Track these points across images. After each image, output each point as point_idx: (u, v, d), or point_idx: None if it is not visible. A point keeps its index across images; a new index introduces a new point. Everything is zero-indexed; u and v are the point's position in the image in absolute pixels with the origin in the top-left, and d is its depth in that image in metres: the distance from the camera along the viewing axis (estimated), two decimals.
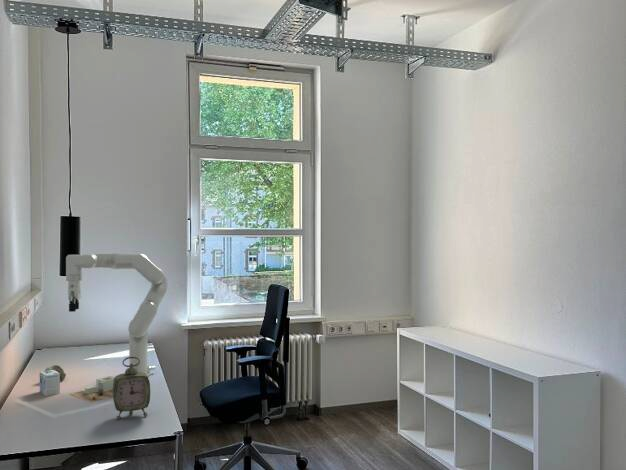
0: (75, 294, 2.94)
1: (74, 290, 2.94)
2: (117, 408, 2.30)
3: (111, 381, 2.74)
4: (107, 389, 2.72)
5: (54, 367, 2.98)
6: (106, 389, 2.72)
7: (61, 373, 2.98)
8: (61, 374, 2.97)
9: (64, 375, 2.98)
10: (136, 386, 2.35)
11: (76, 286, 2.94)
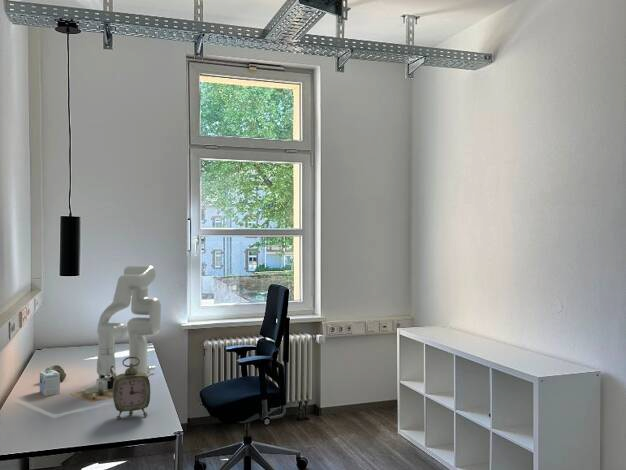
0: None
1: None
2: (117, 408, 2.30)
3: None
4: (107, 389, 2.72)
5: (54, 367, 2.98)
6: (106, 389, 2.72)
7: (61, 373, 2.97)
8: (61, 374, 2.97)
9: (64, 375, 2.98)
10: (136, 386, 2.35)
11: None
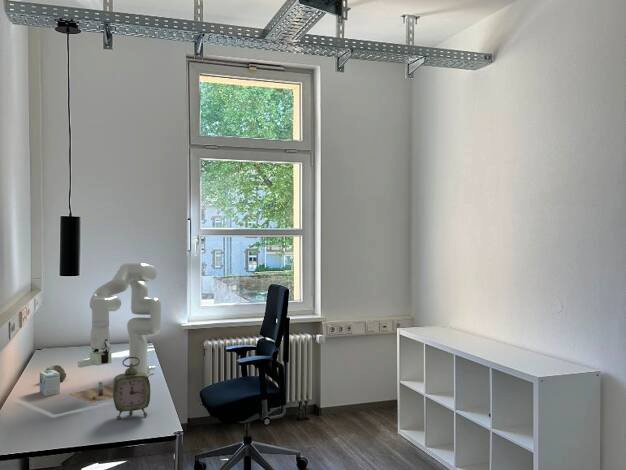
0: None
1: None
2: (117, 408, 2.30)
3: None
4: (101, 363, 2.61)
5: (55, 367, 2.98)
6: (100, 363, 2.61)
7: (62, 373, 2.97)
8: (62, 374, 2.97)
9: (65, 375, 2.98)
10: (136, 386, 2.35)
11: None
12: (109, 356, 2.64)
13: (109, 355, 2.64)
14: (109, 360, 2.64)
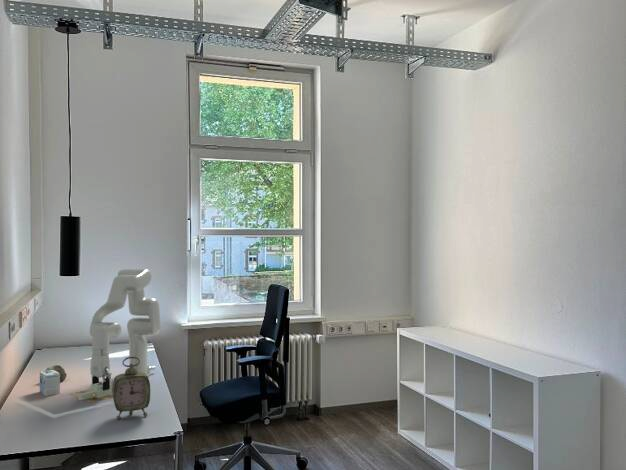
0: None
1: None
2: (117, 408, 2.30)
3: None
4: (101, 395, 2.61)
5: (55, 367, 2.98)
6: (100, 395, 2.61)
7: (62, 373, 2.97)
8: (62, 374, 2.97)
9: (65, 375, 2.98)
10: (136, 386, 2.35)
11: None
12: (110, 388, 2.64)
13: None
14: (109, 392, 2.64)
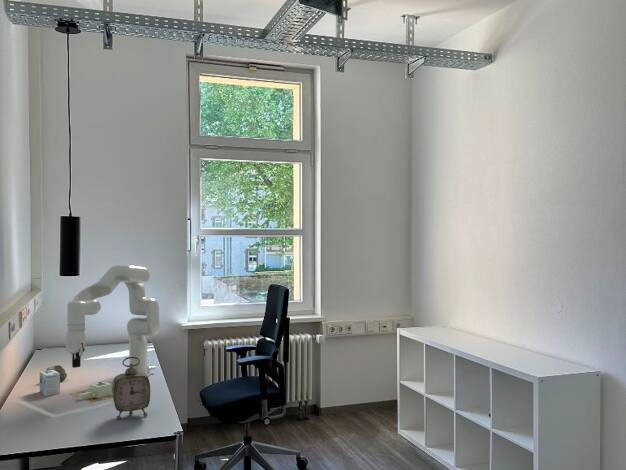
0: None
1: None
2: (117, 408, 2.30)
3: (105, 387, 2.63)
4: (101, 395, 2.61)
5: (55, 367, 2.98)
6: (100, 395, 2.61)
7: (62, 373, 2.97)
8: (62, 374, 2.97)
9: (65, 375, 2.97)
10: (136, 386, 2.35)
11: None
12: (110, 388, 2.64)
13: (109, 387, 2.64)
14: (109, 392, 2.64)
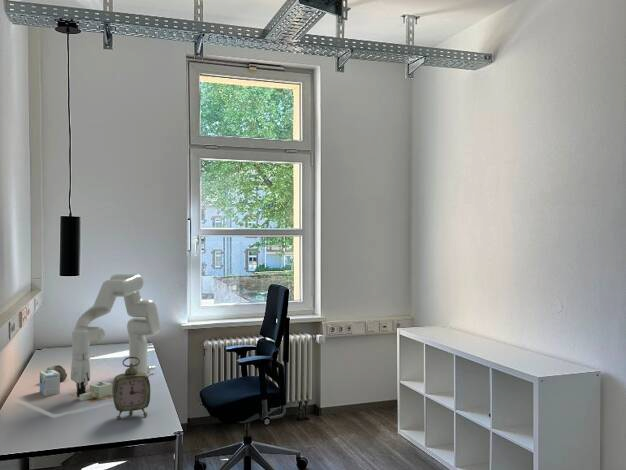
0: None
1: None
2: (117, 408, 2.30)
3: (106, 387, 2.63)
4: (102, 395, 2.61)
5: (56, 367, 2.98)
6: (101, 395, 2.61)
7: (62, 373, 2.97)
8: (62, 374, 2.97)
9: (65, 375, 2.97)
10: (136, 386, 2.35)
11: None
12: (110, 388, 2.65)
13: (110, 387, 2.65)
14: (110, 392, 2.65)
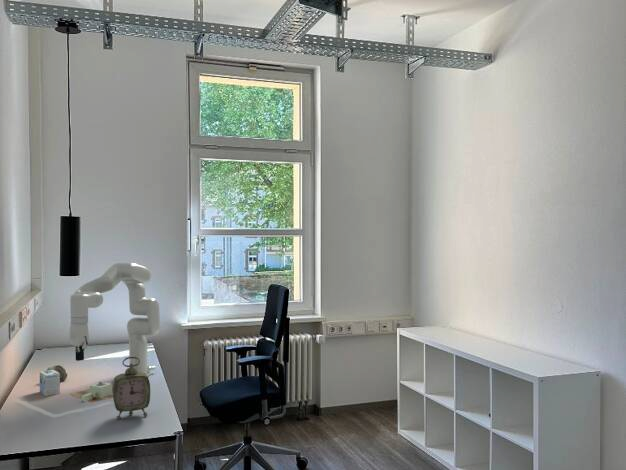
0: None
1: None
2: (117, 408, 2.30)
3: (107, 387, 2.63)
4: (104, 395, 2.61)
5: (56, 367, 2.98)
6: (103, 395, 2.61)
7: (63, 373, 2.97)
8: (62, 374, 2.97)
9: (66, 375, 2.97)
10: (136, 386, 2.35)
11: None
12: (110, 387, 2.65)
13: (110, 386, 2.65)
14: (110, 391, 2.65)
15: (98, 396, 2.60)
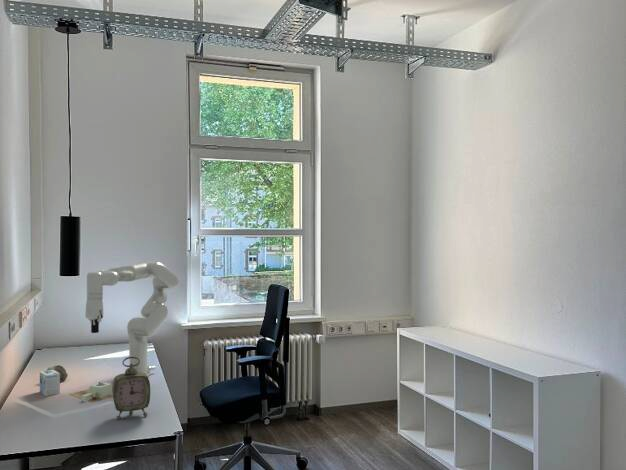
0: None
1: None
2: (117, 408, 2.30)
3: (107, 387, 2.63)
4: (104, 395, 2.61)
5: (56, 367, 2.98)
6: (103, 395, 2.61)
7: (63, 373, 2.97)
8: (63, 374, 2.97)
9: (66, 375, 2.97)
10: (136, 386, 2.35)
11: None
12: (110, 387, 2.65)
13: (110, 386, 2.65)
14: (110, 391, 2.65)
15: (98, 396, 2.60)
